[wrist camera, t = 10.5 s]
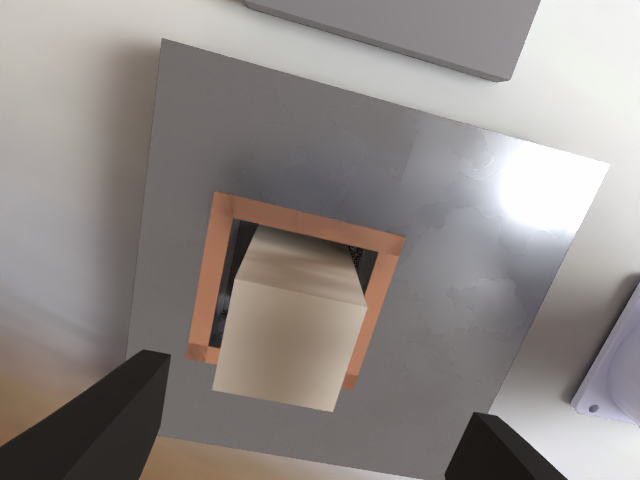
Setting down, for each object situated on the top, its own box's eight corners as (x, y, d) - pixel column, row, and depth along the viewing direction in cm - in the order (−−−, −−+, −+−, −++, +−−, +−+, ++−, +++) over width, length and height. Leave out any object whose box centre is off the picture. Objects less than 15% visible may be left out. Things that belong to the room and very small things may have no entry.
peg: (347, 242, 17) (367, 307, 11) (324, 318, 18) (332, 412, 12) (259, 222, 16) (234, 278, 11) (242, 301, 18) (211, 390, 12)
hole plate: (564, 157, 16) (612, 164, 13) (435, 442, 21) (453, 486, 18) (186, 51, 14) (160, 37, 12) (141, 389, 19) (116, 430, 16)
